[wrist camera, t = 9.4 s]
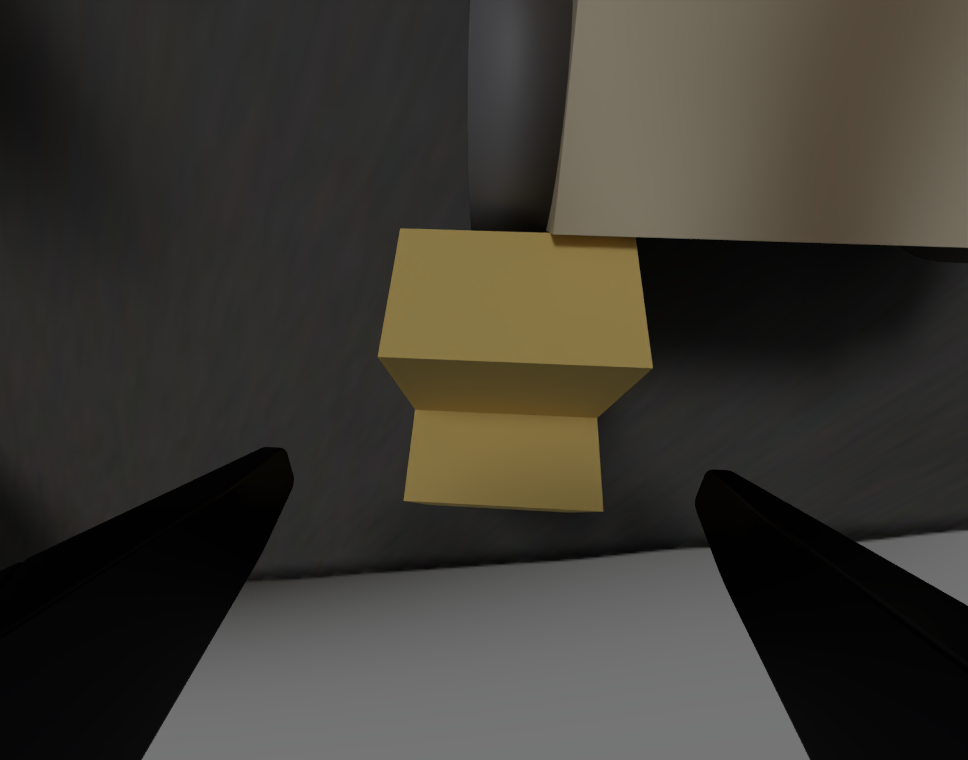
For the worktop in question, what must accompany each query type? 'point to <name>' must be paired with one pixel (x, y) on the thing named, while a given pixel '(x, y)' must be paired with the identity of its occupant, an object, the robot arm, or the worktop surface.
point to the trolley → (722, 120)
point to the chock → (512, 362)
